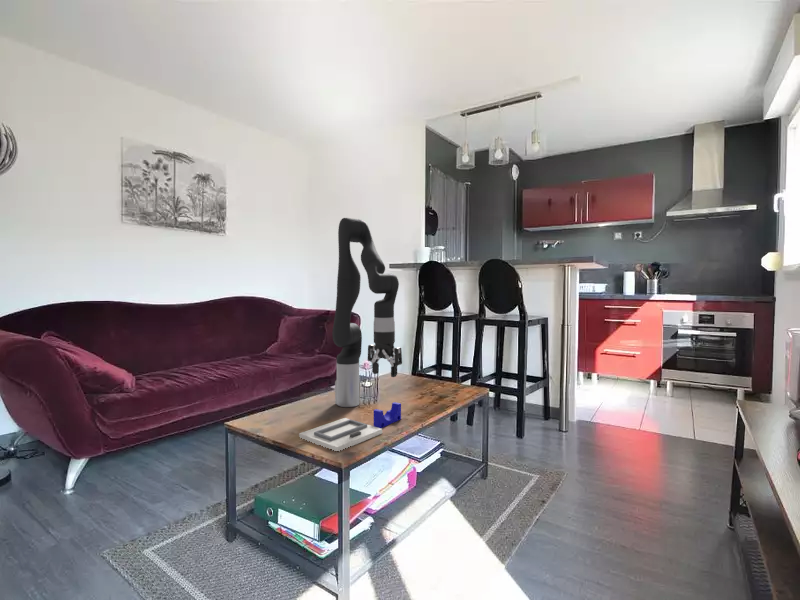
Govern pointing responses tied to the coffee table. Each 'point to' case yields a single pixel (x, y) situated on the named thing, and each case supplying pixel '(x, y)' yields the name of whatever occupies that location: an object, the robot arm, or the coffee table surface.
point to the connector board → (340, 434)
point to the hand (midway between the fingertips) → (384, 375)
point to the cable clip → (387, 416)
